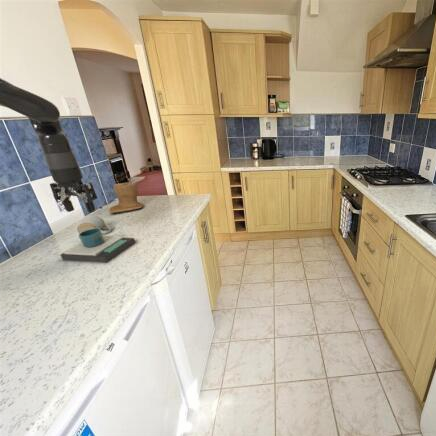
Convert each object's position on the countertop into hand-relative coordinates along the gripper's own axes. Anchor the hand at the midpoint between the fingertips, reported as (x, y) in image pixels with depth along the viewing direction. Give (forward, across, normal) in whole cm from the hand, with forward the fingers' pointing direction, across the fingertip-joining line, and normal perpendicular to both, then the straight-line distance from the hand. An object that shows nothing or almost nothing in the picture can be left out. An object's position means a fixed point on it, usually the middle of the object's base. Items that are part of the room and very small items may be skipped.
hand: (81, 211), depth 86 cm
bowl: (+13, 0, 0) cm, 13 cm away
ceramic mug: (+17, -13, +14) cm, 25 cm away
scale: (+16, +2, 0) cm, 17 cm away
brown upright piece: (+16, -21, +42) cm, 50 cm away
